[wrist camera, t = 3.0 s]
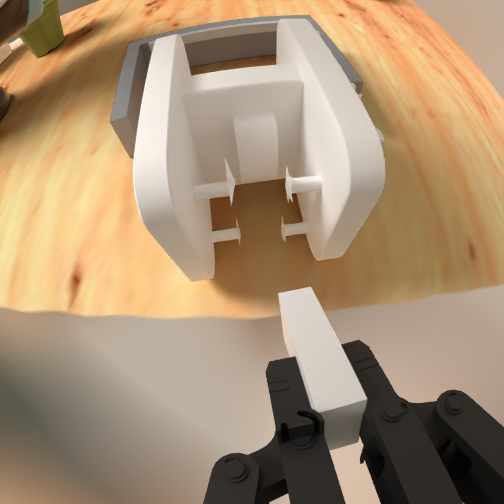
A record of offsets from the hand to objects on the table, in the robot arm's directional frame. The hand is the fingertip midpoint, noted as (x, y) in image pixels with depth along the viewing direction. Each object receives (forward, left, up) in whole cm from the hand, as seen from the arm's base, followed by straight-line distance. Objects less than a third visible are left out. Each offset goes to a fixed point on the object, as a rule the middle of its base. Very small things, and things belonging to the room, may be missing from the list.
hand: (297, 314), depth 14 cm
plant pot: (-59, -34, -6) cm, 68 cm away
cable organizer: (-11, 0, -6) cm, 13 cm away
